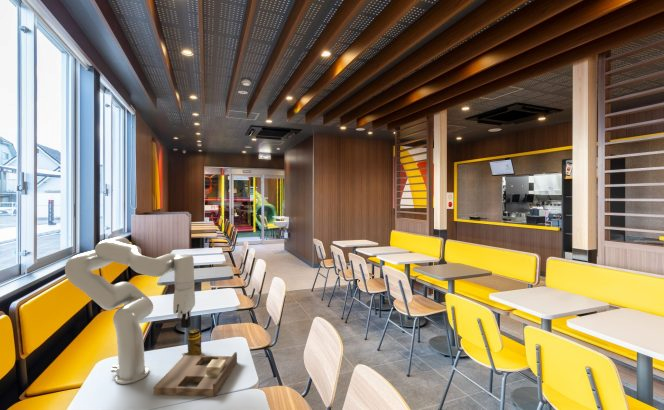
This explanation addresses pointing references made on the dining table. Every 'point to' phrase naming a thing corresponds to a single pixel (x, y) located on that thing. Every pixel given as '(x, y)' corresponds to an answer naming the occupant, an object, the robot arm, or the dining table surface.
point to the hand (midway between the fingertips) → (185, 326)
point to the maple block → (215, 367)
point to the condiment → (194, 343)
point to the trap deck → (194, 377)
